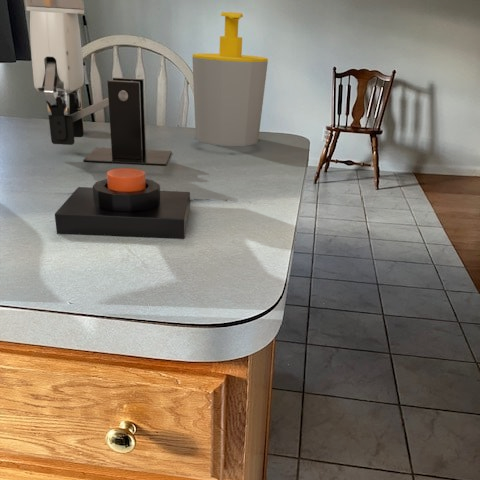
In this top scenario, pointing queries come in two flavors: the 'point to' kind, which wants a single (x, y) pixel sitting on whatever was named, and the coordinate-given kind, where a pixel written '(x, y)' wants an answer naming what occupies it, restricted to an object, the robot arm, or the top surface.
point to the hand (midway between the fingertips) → (68, 138)
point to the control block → (124, 212)
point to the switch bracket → (127, 127)
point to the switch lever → (90, 110)
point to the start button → (126, 179)
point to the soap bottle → (228, 91)
